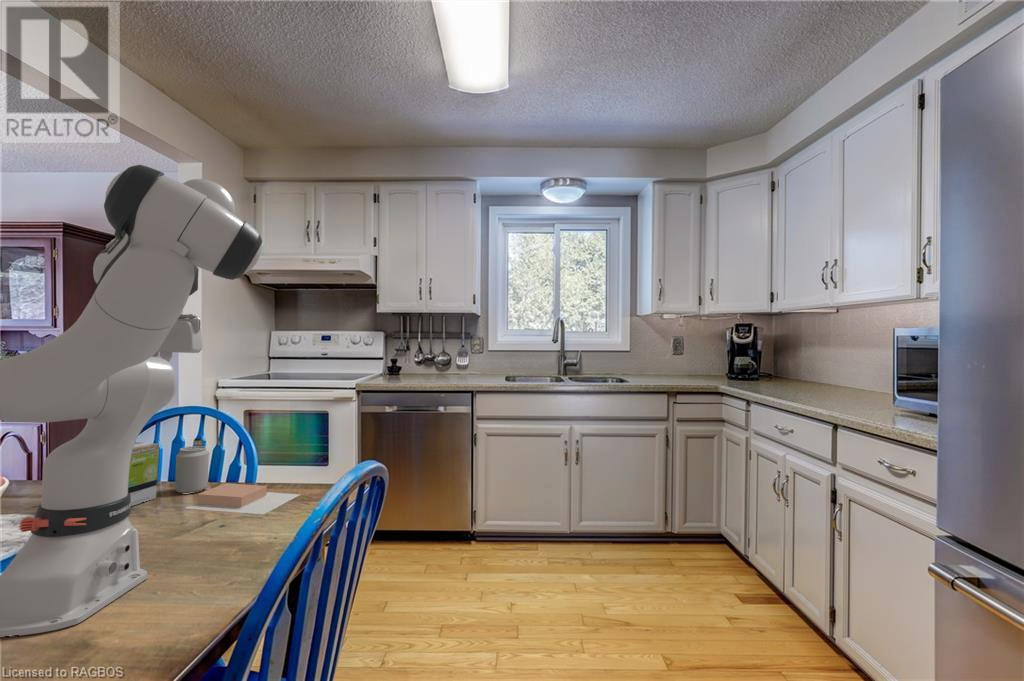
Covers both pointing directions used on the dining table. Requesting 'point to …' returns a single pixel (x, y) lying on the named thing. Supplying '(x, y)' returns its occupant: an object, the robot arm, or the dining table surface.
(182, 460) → the can
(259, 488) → the tile
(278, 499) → the mat
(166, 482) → the dining table surface
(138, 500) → the tea box
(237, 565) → the dining table surface
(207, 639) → the dining table surface
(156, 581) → the dining table surface
